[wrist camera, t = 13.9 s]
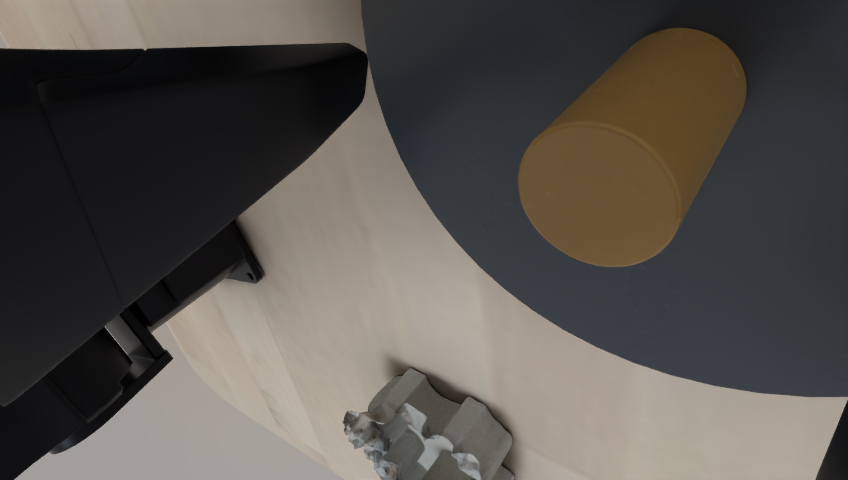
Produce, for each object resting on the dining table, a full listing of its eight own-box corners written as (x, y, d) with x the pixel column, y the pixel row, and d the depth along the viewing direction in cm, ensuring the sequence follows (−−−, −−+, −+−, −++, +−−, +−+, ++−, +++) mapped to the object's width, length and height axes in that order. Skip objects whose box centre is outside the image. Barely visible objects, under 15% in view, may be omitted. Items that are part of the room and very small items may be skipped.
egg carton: (389, 349, 27) (333, 410, 24) (528, 422, 23) (479, 502, 21) (408, 465, 34) (365, 522, 31) (519, 535, 30) (480, 607, 27)
